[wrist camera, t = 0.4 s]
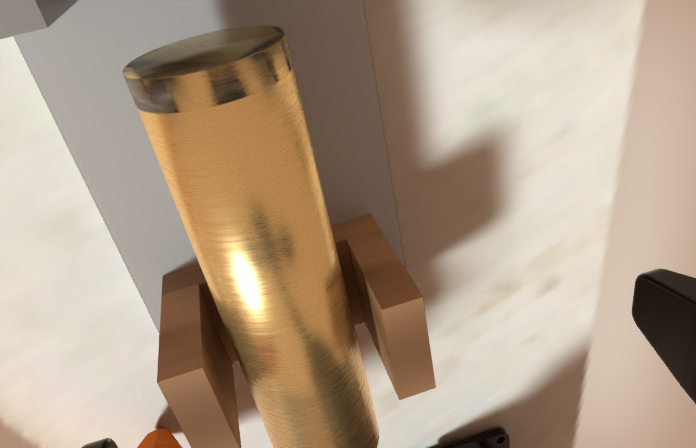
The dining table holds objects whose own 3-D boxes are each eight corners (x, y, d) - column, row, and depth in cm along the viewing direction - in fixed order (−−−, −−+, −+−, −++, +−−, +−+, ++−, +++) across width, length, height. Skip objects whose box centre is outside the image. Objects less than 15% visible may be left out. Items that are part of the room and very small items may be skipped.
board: (406, 296, 24) (411, 305, 24) (181, 368, 23) (181, 379, 23) (315, -261, 14) (320, -267, 14) (-88, -187, 13) (-99, -191, 13)
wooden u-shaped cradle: (385, 294, 23) (435, 387, 19) (197, 354, 22) (202, 468, 18) (370, 213, 21) (422, 296, 17) (162, 275, 20) (157, 382, 16)
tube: (362, 383, 23) (393, 464, 20) (270, 415, 23) (285, 502, 19) (272, 16, 15) (298, 46, 12) (128, 52, 15) (114, 93, 12)
